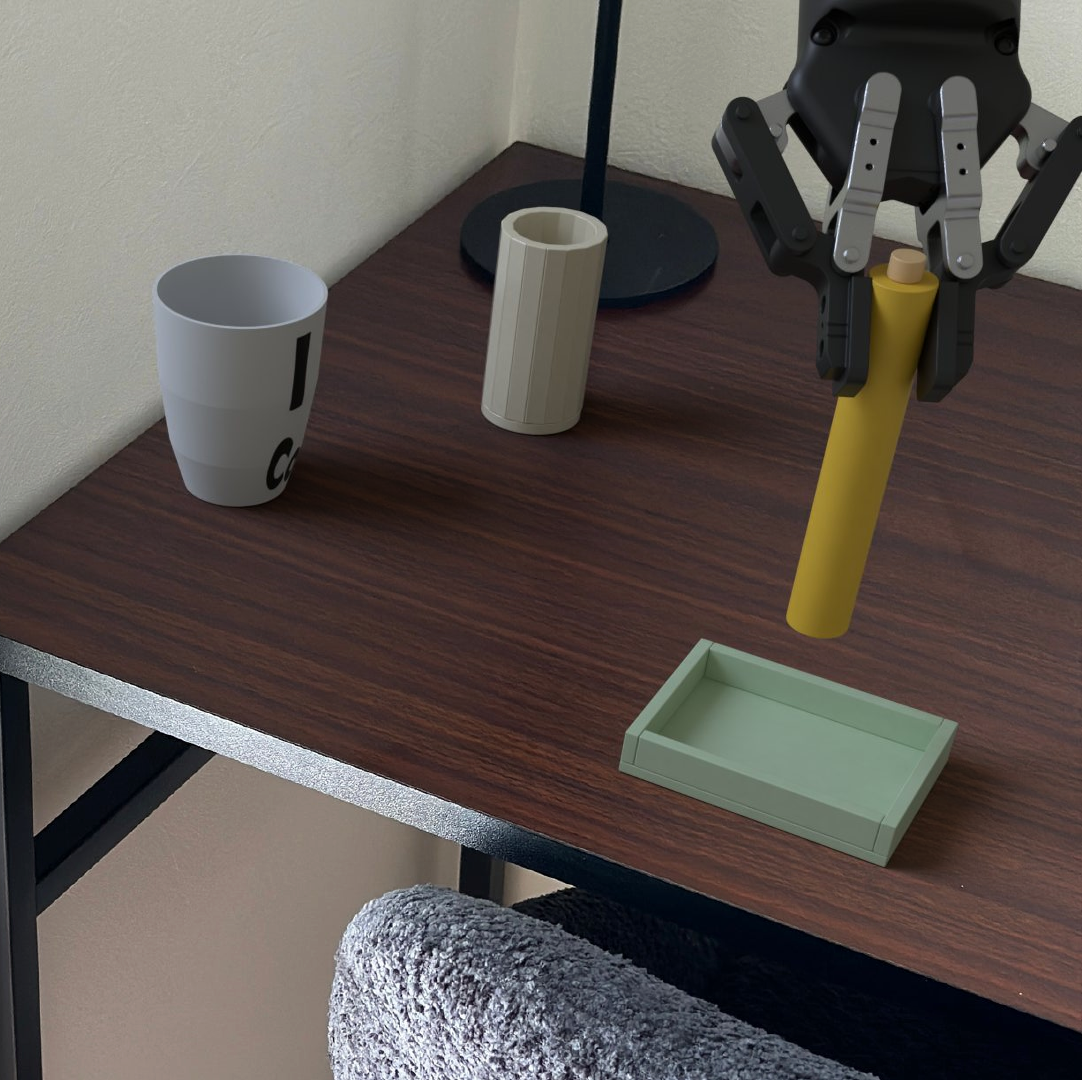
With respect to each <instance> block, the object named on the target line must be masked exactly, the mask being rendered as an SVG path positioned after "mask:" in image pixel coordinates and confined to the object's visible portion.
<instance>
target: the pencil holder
mask: <svg viewBox="0 0 1082 1080" xmlns="http://www.w3.org/2000/svg"><path fill="white" fill-rule="evenodd" d="M608 233H609V232H608V228H607V226H606V225H605V224H604V223H603V222H602V221H601V220H600V219H598V218H597V217H595V216H593V215H590V214H588V213H585V212H583V211H580V210H576V209H570V208H565V207H553V206H537V207H528V208H521V209H519V210H516V211H513V212H511V213H508V214H507V215H506V216H505V217H504V218H503V219H502V220H501V223H500V232H499V239H498V249H497V257H496V266H495V273H494V274H495V275H494V282H493V283H494V284H493V292H492V301H491V308H490V318H489V327H488V336H487V345H486V354H485V360H484V361H485V362H484V371H483V379H482V389H481V403H480V409H481V413H482V415H483V416H484V418H485V419H486V420H487V421H489V422H490V423H491V424H493V425H495V426H497V427H498V428H501V429H504V430H506V431H510V432H512V433H517V434H524V435H536V436H543V435H553V434H558V433H562V432H564V431H565V432H566V431H568V430H569V429H571V428H573V427H574V426H576V425H577V423H578V422H580V419H581V415H582V409H583V406H584V399H585V393H586V387H587V379H588V373H589V366H590V360H591V359H590V358H591V353H592V345H593V340H594V331H595V327H596V326H595V325H596V318H597V312H598V305H599V298H600V293H601V284H602V278H603V271H604V266H605V265H604V264H605V258H606V251H607V245H608V237H609V234H608Z"/></svg>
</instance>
